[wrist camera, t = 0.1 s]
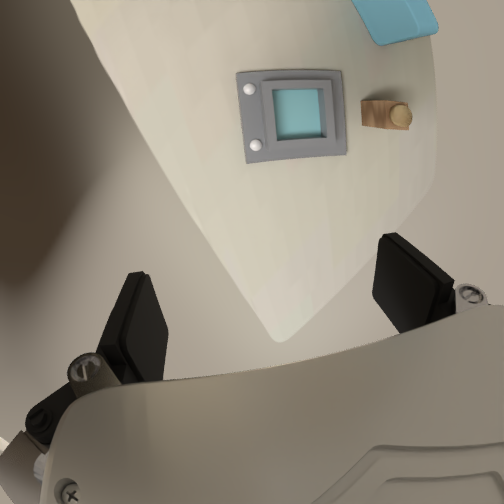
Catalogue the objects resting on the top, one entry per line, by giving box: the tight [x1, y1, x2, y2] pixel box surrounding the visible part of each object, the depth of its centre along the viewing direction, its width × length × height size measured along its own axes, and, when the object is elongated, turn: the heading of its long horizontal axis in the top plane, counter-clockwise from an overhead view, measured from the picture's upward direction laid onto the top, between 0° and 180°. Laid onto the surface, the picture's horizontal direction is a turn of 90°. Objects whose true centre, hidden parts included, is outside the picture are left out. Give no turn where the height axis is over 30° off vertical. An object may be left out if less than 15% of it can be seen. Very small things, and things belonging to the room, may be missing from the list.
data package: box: [352, 0, 438, 46], centre depth 24 cm, size 12×4×12 cm, turn 27°
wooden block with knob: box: [361, 100, 412, 130], centre depth 33 cm, size 4×4×8 cm
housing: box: [236, 70, 346, 164], centre depth 35 cm, size 13×15×4 cm
